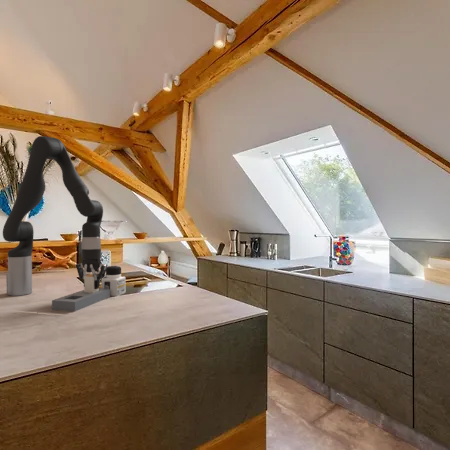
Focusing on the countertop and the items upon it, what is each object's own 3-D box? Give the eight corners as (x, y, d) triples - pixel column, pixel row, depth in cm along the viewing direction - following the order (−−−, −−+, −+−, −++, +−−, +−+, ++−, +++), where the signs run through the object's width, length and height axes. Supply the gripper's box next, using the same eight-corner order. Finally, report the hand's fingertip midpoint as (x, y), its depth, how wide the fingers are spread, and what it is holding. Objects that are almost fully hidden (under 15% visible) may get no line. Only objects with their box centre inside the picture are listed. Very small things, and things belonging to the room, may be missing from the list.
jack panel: (52, 311, 120) (52, 300, 120) (89, 296, 141) (89, 287, 141) (75, 312, 118) (75, 301, 118) (110, 298, 139) (109, 289, 139)
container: (117, 297, 141) (116, 267, 141) (101, 296, 142) (100, 267, 142) (125, 293, 148) (125, 265, 148) (110, 292, 150) (110, 264, 150)
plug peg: (84, 300, 133) (84, 275, 133) (90, 298, 137) (90, 273, 137) (93, 301, 132) (92, 275, 132) (98, 298, 136) (98, 273, 136)
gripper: (70, 248, 132) (70, 289, 133) (100, 248, 129) (101, 291, 129) (82, 246, 140) (83, 285, 140) (111, 247, 136) (112, 287, 137)
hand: (91, 288), depth 135 cm, fingers closed on plug peg, 4 cm apart
